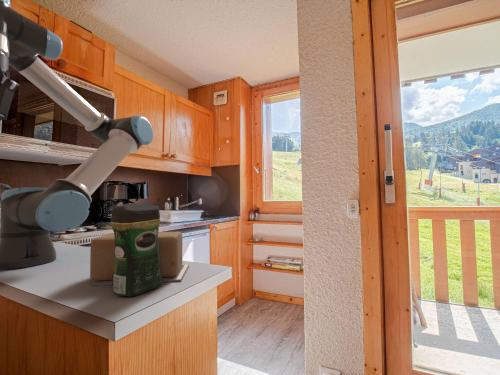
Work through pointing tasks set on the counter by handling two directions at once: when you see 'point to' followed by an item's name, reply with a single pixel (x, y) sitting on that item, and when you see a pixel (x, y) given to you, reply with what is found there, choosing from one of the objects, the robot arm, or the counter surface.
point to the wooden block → (105, 251)
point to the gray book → (164, 279)
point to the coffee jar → (136, 248)
